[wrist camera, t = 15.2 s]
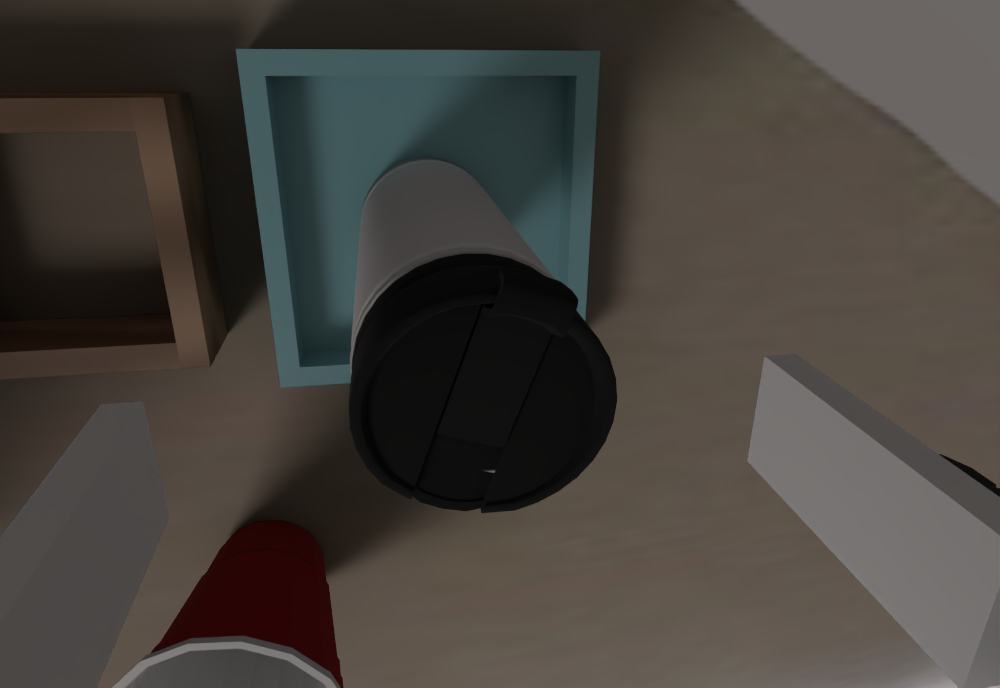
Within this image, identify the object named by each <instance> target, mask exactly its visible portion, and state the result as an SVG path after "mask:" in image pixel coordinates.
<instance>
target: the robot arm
mask: <svg viewBox="0 0 1000 688" xmlns="http://www.w3.org/2000/svg"><path fill="white" fill-rule="evenodd" d="M747 461H748V462H749V463H750V464H751V465H752V466H753V468H754V469H755V470H756V471H757V472H758V473H759V474H760V475H761V476H762V477H763V478H764V479H765V480H766V481H767V483H768V484H769V485H770V486H771V487H772V488H773V489H774V490H775V491H776V492H777V493H778V494H779V495H780V496H781V498H782V499H783V500H784V501H785V502H786V503H787V504H788V505H789V506H790V507H791V508H792V509H793V510H794V512H795V513H796V514H797V515H798V516H799V517H800V518H801V519H802V520H803V521H804V522H805V523H806V524H807V525H808V527H809V528H810V529H811V530H812V531H813V532H814V533H815V534H816V535H817V536H818V537H819V538H820V539H821V540H822V542H823V543H824V544H825V545H826V546H827V547H828V548H829V549H830V550H831V551H832V552H833V553H834V554H835V555H836V557H837V558H838V559H839V560H840V561H841V562H842V563H843V564H844V565H845V566H846V567H847V568H848V569H849V570H850V572H851V573H852V574H853V575H854V576H855V577H856V578H857V579H858V580H859V581H860V582H861V583H862V584H863V585H864V587H865V588H866V589H867V590H868V591H869V592H870V593H871V594H872V595H873V596H874V597H875V598H876V599H877V601H878V602H879V603H880V604H881V605H882V606H883V607H884V608H885V609H886V610H887V611H888V612H889V613H890V614H891V616H892V617H893V618H894V619H895V620H896V621H897V622H898V623H899V624H900V625H901V626H902V627H903V628H904V629H905V631H906V632H907V633H908V634H909V635H910V636H911V637H912V638H913V639H914V640H915V641H916V642H917V643H918V644H919V646H920V647H921V648H922V649H923V650H924V651H925V652H926V653H927V654H928V655H929V656H930V657H931V658H932V659H933V661H934V662H935V663H936V664H937V665H938V666H939V667H940V668H941V669H942V670H943V671H944V672H945V673H946V674H947V676H948V677H949V678H950V679H951V680H952V681H953V682H954V683H955V684H956V685H957V686H958V687H959V688H985V687H991V686H997V685H1000V488H996V484H994V483H993V482H991V481H990V480H988V479H987V478H986V477H984V476H983V475H981V474H980V473H978V472H977V471H975V470H974V469H972V468H971V467H968V466H966V465H964V464H962V463H959V462H957V461H955V460H953V459H950V458H948V457H946V456H944V455H941V454H938V453H936V452H935V451H933V450H932V449H930V448H929V447H928V446H926V445H925V444H923V443H922V442H920V441H919V440H918V439H916V438H915V437H913V436H912V435H911V434H909V433H908V432H906V431H905V430H903V429H902V428H901V427H899V426H898V425H896V424H895V423H893V422H892V421H891V420H889V419H888V418H886V417H885V416H883V415H882V414H881V413H879V412H878V411H876V410H875V409H873V408H872V407H871V406H869V405H868V404H866V403H865V402H864V401H862V400H861V399H859V398H858V397H856V396H855V395H854V394H852V393H851V392H849V391H848V390H846V389H845V388H844V387H842V386H841V385H839V384H838V383H836V382H835V381H834V380H832V379H831V378H829V377H828V376H826V375H825V374H824V373H822V372H821V371H819V370H818V369H817V368H815V367H814V366H812V365H811V364H809V363H808V362H807V361H805V360H804V359H802V358H801V357H799V356H798V355H797V354H788V355H774V356H765V357H764V363H763V369H762V375H761V381H760V387H759V394H758V400H757V406H756V412H755V418H754V424H753V430H752V436H751V442H750V448H749V454H748V460H747ZM168 519H169V517H168V513H167V508H166V504H165V499H164V495H163V490H162V486H161V481H160V476H159V472H158V467H157V463H156V458H155V454H154V449H153V445H152V440H151V435H150V431H149V426H148V422H147V417H146V413H145V408H144V404H143V401H141V402H128V403H114V404H101V405H100V406H99V407H98V409H97V410H96V411H95V413H94V414H93V415H92V417H91V418H90V419H89V420H88V422H87V423H86V424H85V426H84V427H83V428H82V430H81V431H80V432H79V434H78V435H77V436H76V438H75V439H74V440H73V442H72V443H71V444H70V446H69V447H68V448H67V450H66V451H65V452H64V454H63V455H62V456H61V458H60V459H59V460H58V461H57V463H56V464H55V465H54V467H53V468H52V469H51V471H50V472H49V473H48V475H47V476H46V477H45V479H44V480H43V481H42V483H41V484H40V485H39V487H38V488H37V489H36V491H35V492H34V493H33V495H32V496H31V497H30V499H29V500H28V501H27V502H26V504H25V505H24V506H23V508H22V509H21V510H20V512H19V513H18V514H17V516H16V517H15V518H14V520H13V521H12V522H11V524H10V525H9V526H8V528H7V529H6V530H5V532H4V533H3V534H2V536H1V537H0V688H97V685H98V683H99V681H100V678H101V676H102V674H103V671H104V669H105V667H106V664H107V662H108V660H109V657H110V655H111V653H112V650H113V648H114V646H115V643H116V641H117V638H118V636H119V634H120V631H121V629H122V627H123V624H124V622H125V620H126V617H127V615H128V613H129V610H130V608H131V606H132V603H133V601H134V598H135V596H136V594H137V591H138V589H139V587H140V584H141V582H142V580H143V577H144V575H145V573H146V570H147V568H148V566H149V563H150V561H151V559H152V556H153V554H154V551H155V549H156V547H157V544H158V542H159V540H160V537H161V535H162V533H163V530H164V528H165V526H166V523H167V521H168Z"/></svg>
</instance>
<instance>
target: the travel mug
mask: <svg viewBox="0 0 1000 688" xmlns="http://www.w3.org/2000/svg"><path fill="white" fill-rule="evenodd" d="M577 307H578V298H577V296H576V295H575V294H574V292H573V291H572V290H571V289H570V288H568V287H567V286H566V285H564V284H563V283H562V282H561V281H558V280H555V279H554V277H553V276H552V275H551V273H550V272H549V271H548V270H547V268H546V267H545V266H544V265H543V263H542V262H541V261H540V260H539V258H538V257H537V256H536V254H535V253H534V252H533V251H532V249H531V248H530V247H529V246H528V244H527V243H526V242H525V241H524V239H523V238H522V237H521V235H520V234H519V233H518V232H517V230H516V229H515V228H514V227H513V225H512V224H511V223H510V222H509V220H508V219H507V218H506V216H505V215H504V214H503V213H502V211H501V210H500V209H499V208H498V206H497V205H496V204H495V203H494V201H493V200H492V199H491V197H490V196H489V195H488V194H487V192H486V191H485V190H484V189H483V187H482V186H481V185H480V184H479V182H478V181H477V180H476V179H475V178H474V177H473V176H472V175H471V174H470V173H469V172H468V171H466V170H465V169H464V168H462V167H461V166H459V165H457V164H455V163H453V162H450V161H448V160H445V159H440V158H436V157H417V158H412V159H407V160H405V161H402V162H400V163H397V164H395V165H393V166H392V167H390V168H389V169H387V170H386V171H384V172H383V173H382V174H381V175H380V176H379V177H378V178H377V179H376V180H375V182H374V183H373V185H372V186H371V188H370V189H369V191H368V193H367V195H366V198H365V200H364V203H363V207H362V213H361V222H360V235H359V248H358V261H357V274H356V286H355V299H354V312H353V325H352V338H351V352H350V371H351V383H350V397H349V418H350V430H351V433H352V436H353V440H354V443H355V447H356V450H357V451H358V453H359V455H360V456H361V458H362V460H363V462H364V463H365V465H366V467H367V468H368V469H369V471H370V472H371V473H372V474H373V475H374V476H375V477H376V478H377V479H378V480H379V481H380V483H381V484H383V485H384V486H386V487H388V488H390V489H392V490H394V491H396V492H398V493H399V494H401V495H403V496H405V497H407V498H409V499H411V498H412V496H413V497H414V498H416V499H417V500H418V501H420V502H421V503H425V504H429V505H432V506H436V507H439V508H443V509H452V510H461V511H469V510H474V509H478V508H481V512H482V513H489V512H501V511H513V510H517V509H520V508H523V507H526V506H529V505H532V504H534V503H537V502H539V501H541V500H543V499H545V498H547V497H549V496H551V495H552V494H554V493H556V492H558V491H559V490H561V489H562V488H563V487H565V486H566V485H567V484H569V483H570V482H571V481H573V480H574V479H575V478H577V477H578V476H579V475H580V474H581V473H582V472H583V471H584V469H585V468H586V467H587V466H588V465H589V464H590V463H591V462H592V461H593V460H594V458H595V457H596V455H597V454H598V452H599V450H600V449H601V447H602V446H603V444H604V443H605V441H606V438H607V436H608V434H609V431H610V429H611V426H612V424H613V421H614V415H615V409H616V403H617V390H616V377H615V374H614V371H613V367H612V364H611V361H610V358H609V356H608V354H607V352H606V351H605V349H604V347H603V346H602V344H601V342H600V340H599V339H598V337H597V336H596V335H595V334H594V332H593V331H592V330H591V328H590V327H589V326H588V325H587V323H586V322H585V321H584V319H583V318H582V317H581V315H580V314H579V313H578V311H577V310H576V309H577Z"/></svg>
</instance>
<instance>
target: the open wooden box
mask: <svg viewBox="0 0 1000 688" xmlns="http://www.w3.org/2000/svg"><path fill="white" fill-rule="evenodd" d="M54 132H136V137H137V142H138V147H139V153H140V158H141V163H142V168H143V173H144V178H145V184H146V189H147V194H148V199H149V204H150V210H151V215H152V220H153V225H154V230H155V236H156V241H157V246H158V251H159V256H160V261H161V267H162V272H163V277H164V282H165V287H166V293H167V298H168V303H169V308H170V313H167V314H147V315H127V316H106V317H86V318H66V319H45V320H25V321H5V322H0V380H2V379H18V378H35V377H51V376H68V375H84V374H101V373H117V372H134V371H150V370H167V369H184V368H200V367H211V365H212V363H213V361H214V359H215V357H216V355H217V353H218V351H219V350H220V348H221V346H222V344H223V342H224V340H225V338H226V336H227V334H228V333H227V326H226V320H225V314H224V308H223V301H222V295H221V289H220V283H219V276H218V270H217V264H216V258H215V252H214V245H213V239H212V233H211V227H210V220H209V214H208V208H207V202H206V195H205V189H204V183H203V177H202V171H201V164H200V158H199V152H198V146H197V139H196V133H195V127H194V121H193V115H192V108H191V102H190V96H189V92H51V93H0V133H54Z"/></svg>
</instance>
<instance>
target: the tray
mask: <svg viewBox="0 0 1000 688" xmlns="http://www.w3.org/2000/svg"><path fill="white" fill-rule="evenodd" d="M236 55H237V63H238V70H239V78H240V85H241V93H242V101H243V108H244V116H245V123H246V131H247V138H248V146H249V153H250V161H251V168H252V176H253V183H254V191H255V198H256V206H257V213H258V221H259V229H260V236H261V244H262V251H263V259H264V266H265V274H266V281H267V289H268V296H269V304H270V311H271V319H272V326H273V334H274V342H275V349H276V357H277V364H278V372H279V379H280V387H281V388H283V387H298V386H313V385H329V384H344V383H351V371H350V352H351V338H352V325H353V312H354V299H355V286H356V274H357V261H358V248H359V235H360V222H361V213H362V207H363V203H364V200H365V198H366V195H367V193H368V191H369V189H370V188H371V186H372V185H373V183H374V182H375V180H376V179H377V178H378V177H379V176H380V175H381V174H382V173H383V172H384V171H386V170H387V169H389V168H390V167H392V166H393V165H395V164H397V163H400V162H402V161H405V160H407V159H412V158H417V157H436V158H440V159H445V160H448V161H450V162H453V163H455V164H457V165H459V166H461V167H462V168H464V169H465V170H466V171H468V172H469V173H470V174H471V175H472V176H473V177H474V178H475V179H476V180H477V181H478V182H479V184H480V185H481V186H482V187H483V189H484V190H485V191H486V192H487V194H488V195H489V196H490V197H491V199H492V200H493V201H494V203H495V204H496V205H497V206H498V208H499V209H500V210H501V211H502V213H503V214H504V215H505V216H506V218H507V219H508V220H509V222H510V223H511V224H512V225H513V227H514V228H515V229H516V230H517V232H518V233H519V234H520V235H521V237H522V238H523V239H524V241H525V242H526V243H527V244H528V246H529V247H530V248H531V249H532V251H533V252H534V253H535V254H536V256H537V257H538V258H539V260H540V261H541V262H542V263H543V265H544V266H545V267H546V268H547V270H548V271H549V272H550V273H551V275H552V276H553V277H554V279H555V280H558V281H561V282H562V283H563V284H564V285H566V286H567V287H568V288H570V289H571V290H572V291H573V292H574V294H575V295H576V296H577V298H578V307H577V309H576V310H577V311H578V313H579V314H580V315H581V317H582V318H583V319H584V321H585V318H586V300H587V282H588V264H589V247H590V229H591V211H592V193H593V175H594V157H595V139H596V121H597V103H598V85H599V67H600V51H571V50H359V49H236Z"/></svg>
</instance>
